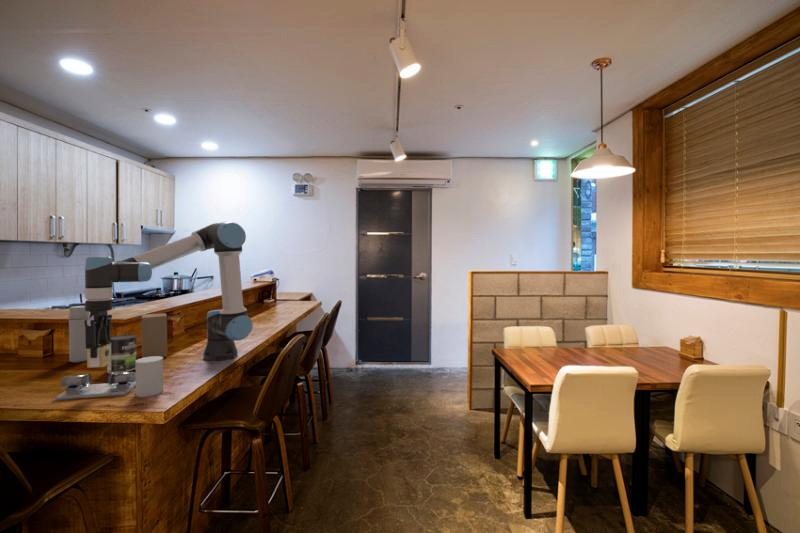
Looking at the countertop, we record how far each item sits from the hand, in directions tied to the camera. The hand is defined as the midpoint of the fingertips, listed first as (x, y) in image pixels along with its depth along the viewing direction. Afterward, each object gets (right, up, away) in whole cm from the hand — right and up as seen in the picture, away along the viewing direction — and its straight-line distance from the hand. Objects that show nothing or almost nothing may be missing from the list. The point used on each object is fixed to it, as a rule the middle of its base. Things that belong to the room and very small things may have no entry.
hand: (98, 364), depth 130 cm
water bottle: (-40, -9, +38) cm, 56 cm away
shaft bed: (0, -10, +1) cm, 10 cm away
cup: (+18, -10, +1) cm, 21 cm away
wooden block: (-12, -9, +47) cm, 49 cm away
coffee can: (-11, -9, +25) cm, 29 cm away
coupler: (0, 0, 0) cm, 0 cm away
